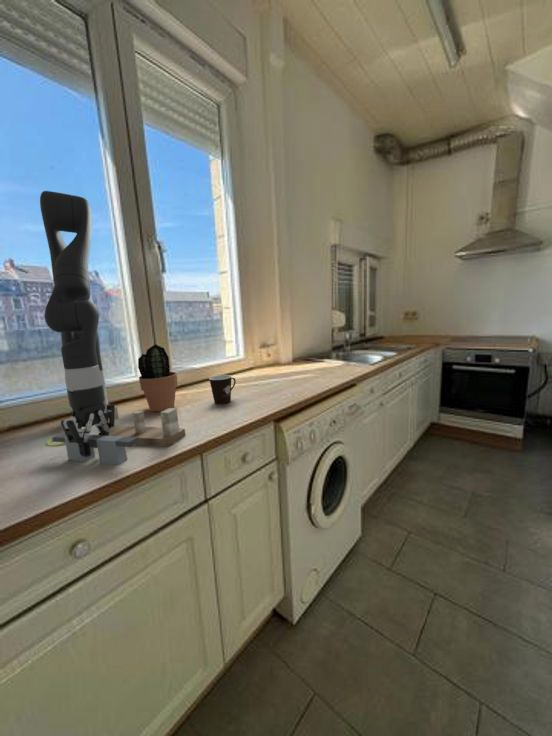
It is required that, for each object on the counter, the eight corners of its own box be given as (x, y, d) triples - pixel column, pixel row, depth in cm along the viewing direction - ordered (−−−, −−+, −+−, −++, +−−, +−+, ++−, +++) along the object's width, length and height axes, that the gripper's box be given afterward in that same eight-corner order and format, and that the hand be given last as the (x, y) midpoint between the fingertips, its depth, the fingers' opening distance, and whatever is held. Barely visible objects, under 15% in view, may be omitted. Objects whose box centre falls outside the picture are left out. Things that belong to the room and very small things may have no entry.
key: (90, 431, 102) (89, 424, 102) (64, 447, 90) (62, 440, 90) (69, 432, 102) (68, 426, 102) (40, 448, 90) (38, 441, 90)
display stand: (97, 441, 91) (92, 412, 90) (118, 431, 99) (114, 404, 97) (169, 446, 85) (165, 415, 83) (185, 435, 92) (181, 406, 91)
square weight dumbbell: (56, 459, 81) (52, 437, 80) (66, 454, 84) (62, 432, 83) (132, 466, 75) (129, 442, 74) (140, 460, 77) (137, 437, 76)
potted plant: (180, 401, 130) (173, 341, 126) (181, 410, 118) (173, 343, 113) (144, 406, 126) (136, 344, 122) (141, 416, 113) (132, 347, 109)
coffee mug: (215, 406, 120) (212, 381, 118) (209, 401, 127) (206, 377, 126) (243, 401, 125) (241, 376, 123) (236, 396, 133) (234, 373, 131)
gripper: (96, 378, 84) (106, 439, 87) (44, 392, 70) (58, 463, 73) (119, 378, 82) (128, 440, 85) (70, 392, 68) (83, 465, 71)
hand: (96, 450), depth 79 cm, fingers open, 5 cm apart
